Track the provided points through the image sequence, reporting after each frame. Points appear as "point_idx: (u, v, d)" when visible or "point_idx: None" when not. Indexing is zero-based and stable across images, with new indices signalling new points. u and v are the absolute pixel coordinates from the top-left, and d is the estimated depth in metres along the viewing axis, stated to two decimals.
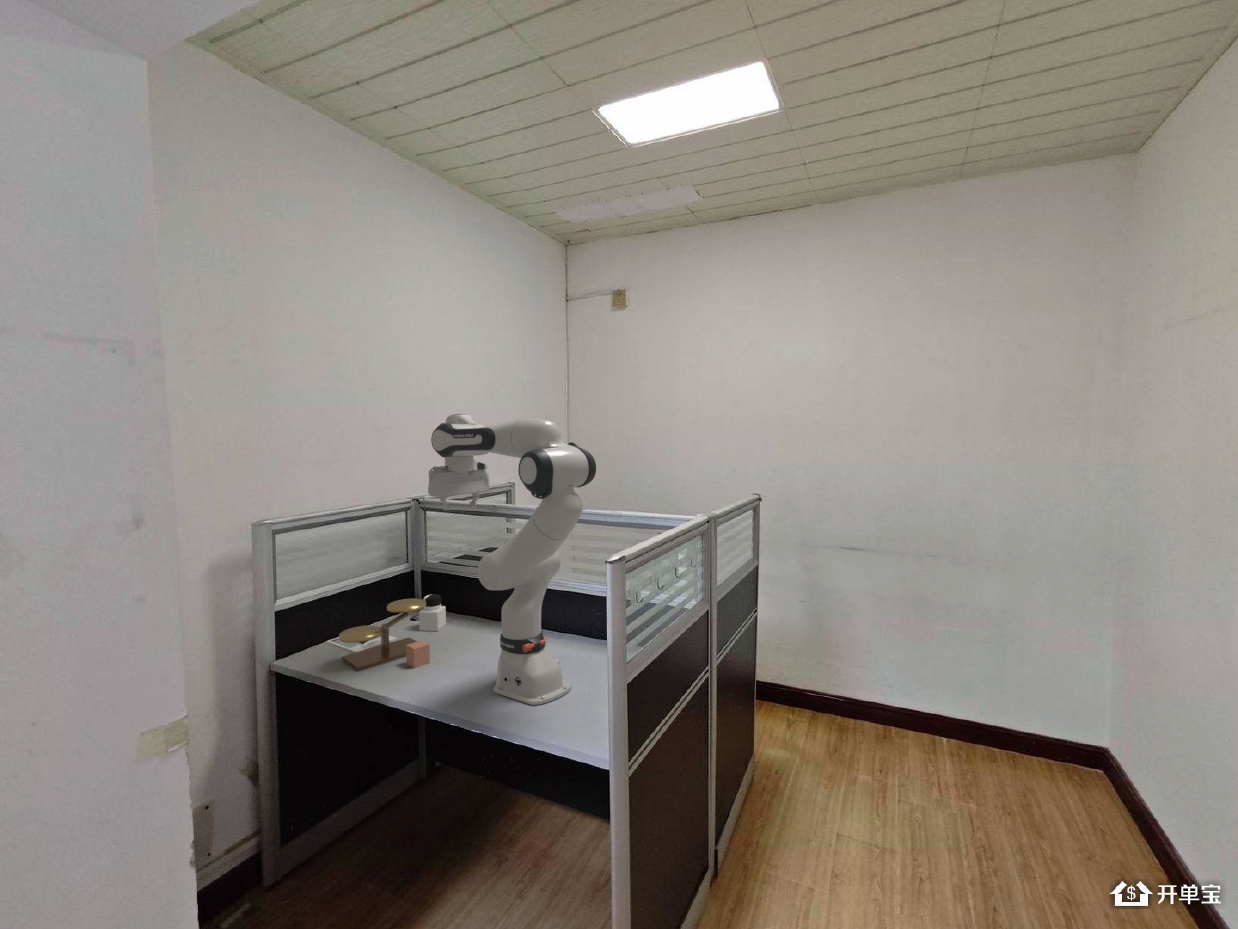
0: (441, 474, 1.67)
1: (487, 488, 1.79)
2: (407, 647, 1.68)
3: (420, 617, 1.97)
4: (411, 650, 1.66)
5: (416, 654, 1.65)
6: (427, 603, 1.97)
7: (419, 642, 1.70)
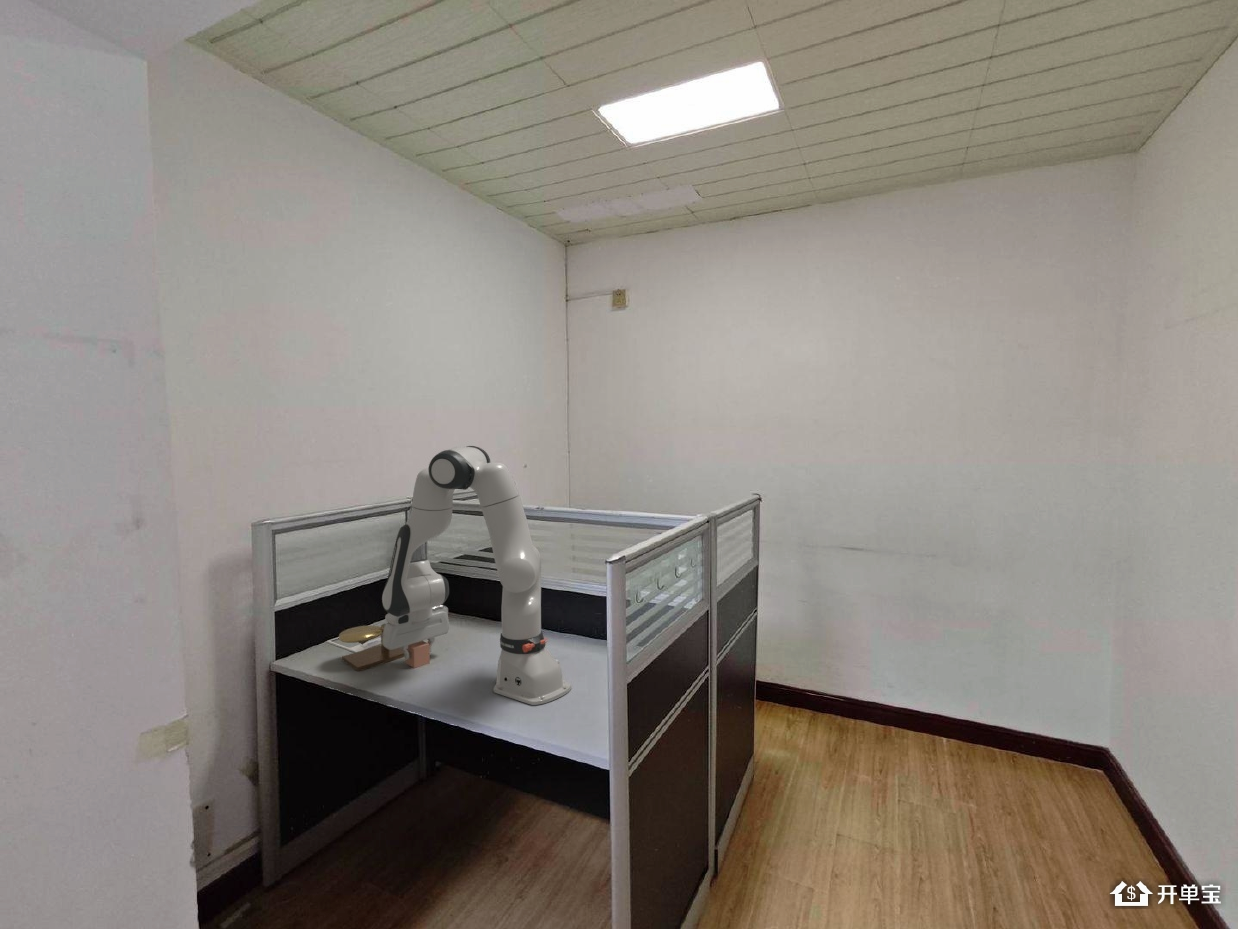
0: None
1: None
2: None
3: None
4: (411, 650, 1.66)
5: (416, 654, 1.65)
6: None
7: (419, 642, 1.70)
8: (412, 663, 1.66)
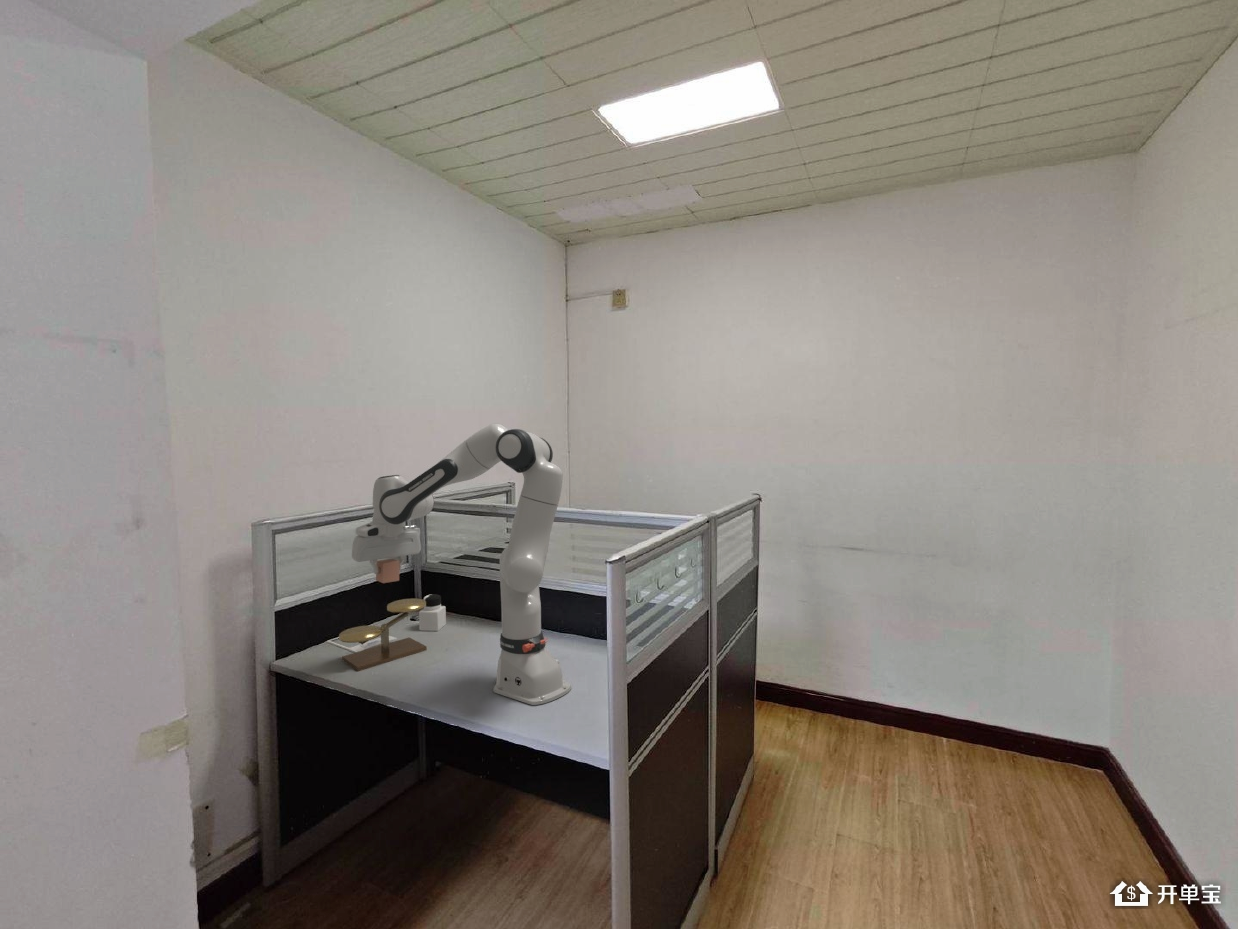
0: None
1: None
2: (377, 563, 1.67)
3: (420, 617, 1.97)
4: (380, 565, 1.66)
5: (385, 569, 1.65)
6: (427, 603, 1.97)
7: (389, 559, 1.70)
8: (381, 578, 1.66)
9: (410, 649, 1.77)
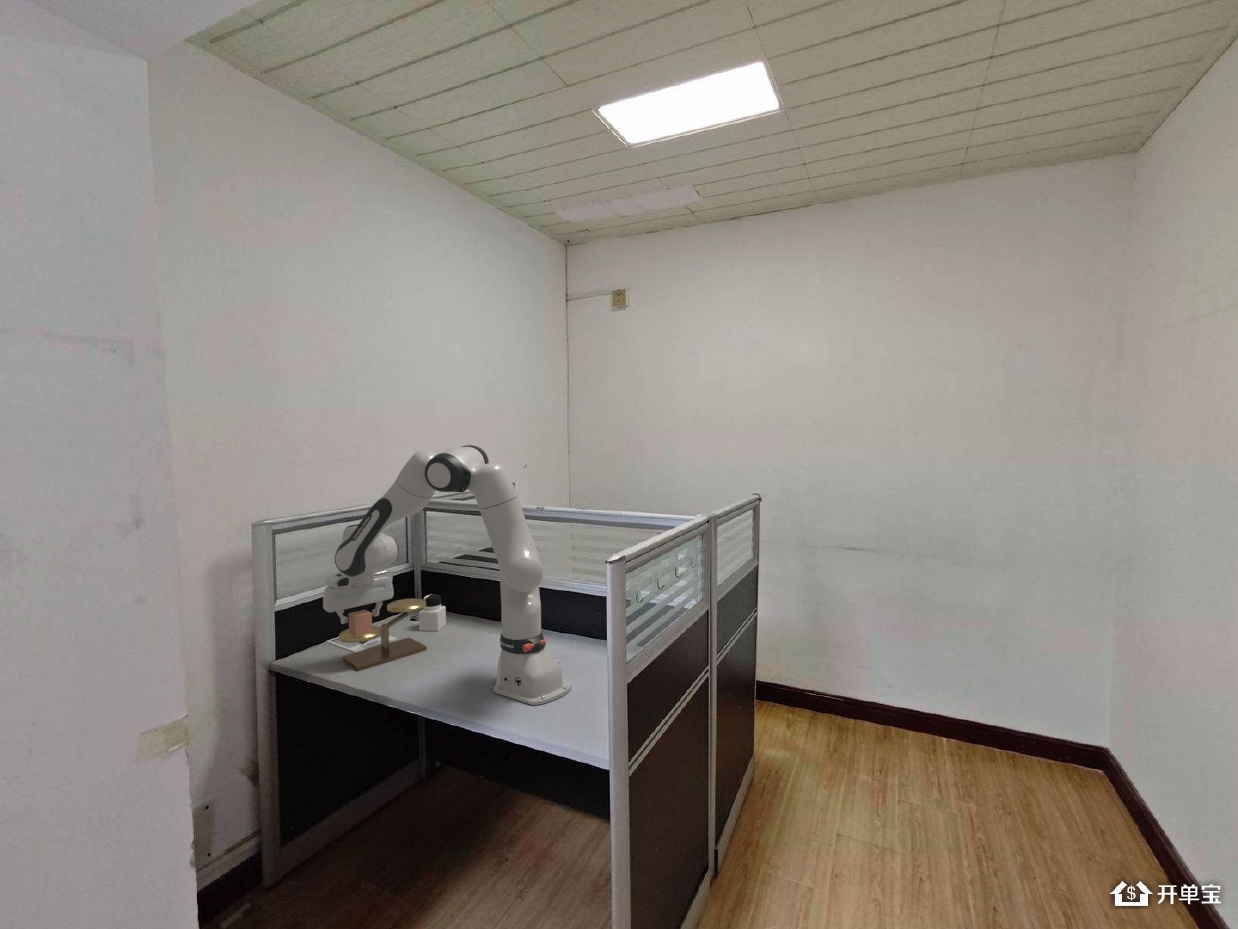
0: None
1: None
2: (349, 615, 1.68)
3: (420, 617, 1.97)
4: (352, 618, 1.67)
5: (357, 622, 1.66)
6: (427, 603, 1.97)
7: (362, 611, 1.71)
8: (354, 631, 1.66)
9: (410, 649, 1.77)
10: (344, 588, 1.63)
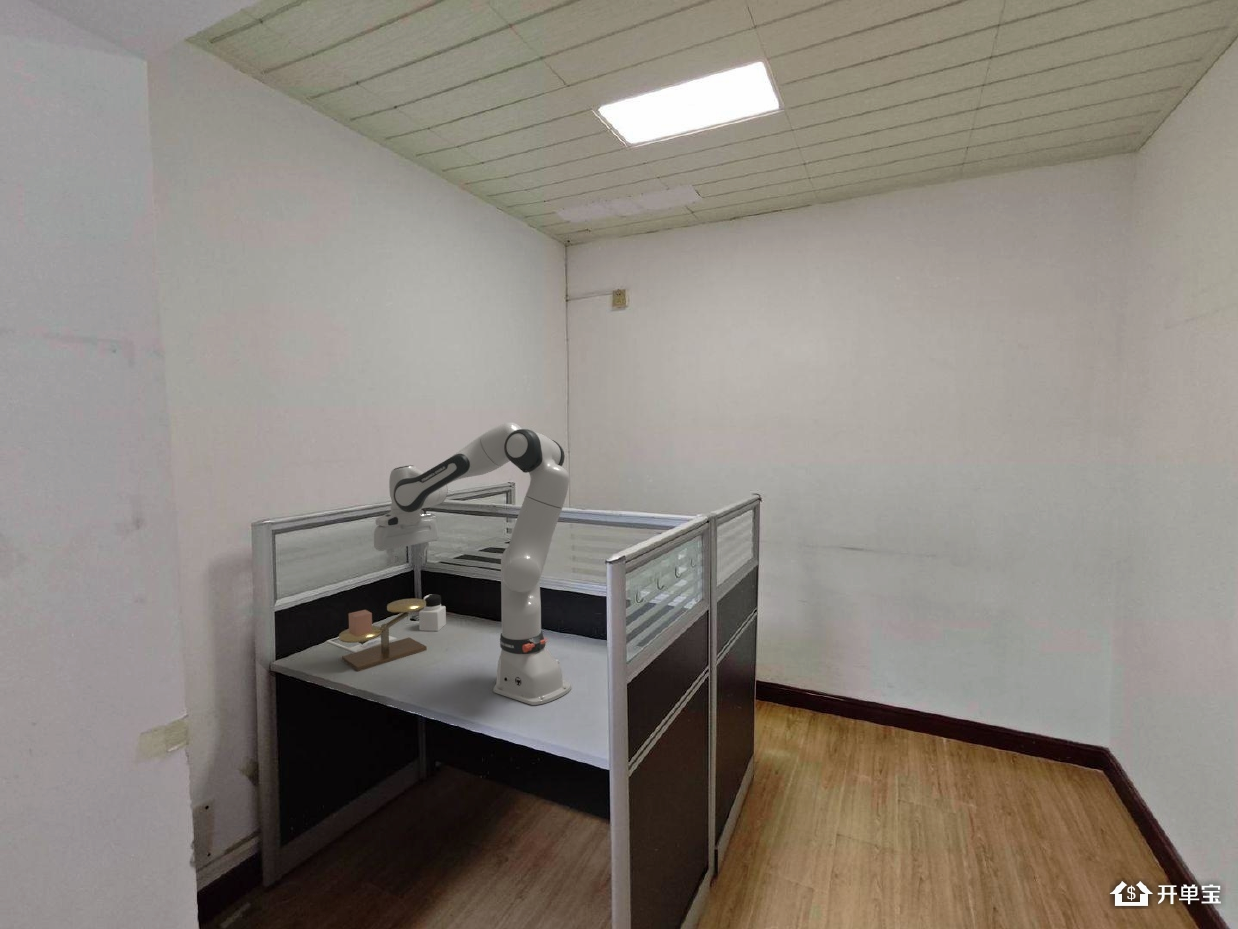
0: None
1: None
2: (349, 615, 1.68)
3: (420, 617, 1.97)
4: (352, 618, 1.67)
5: (357, 622, 1.66)
6: (427, 603, 1.97)
7: (362, 611, 1.71)
8: (354, 631, 1.66)
9: (410, 649, 1.77)
10: (394, 527, 1.68)
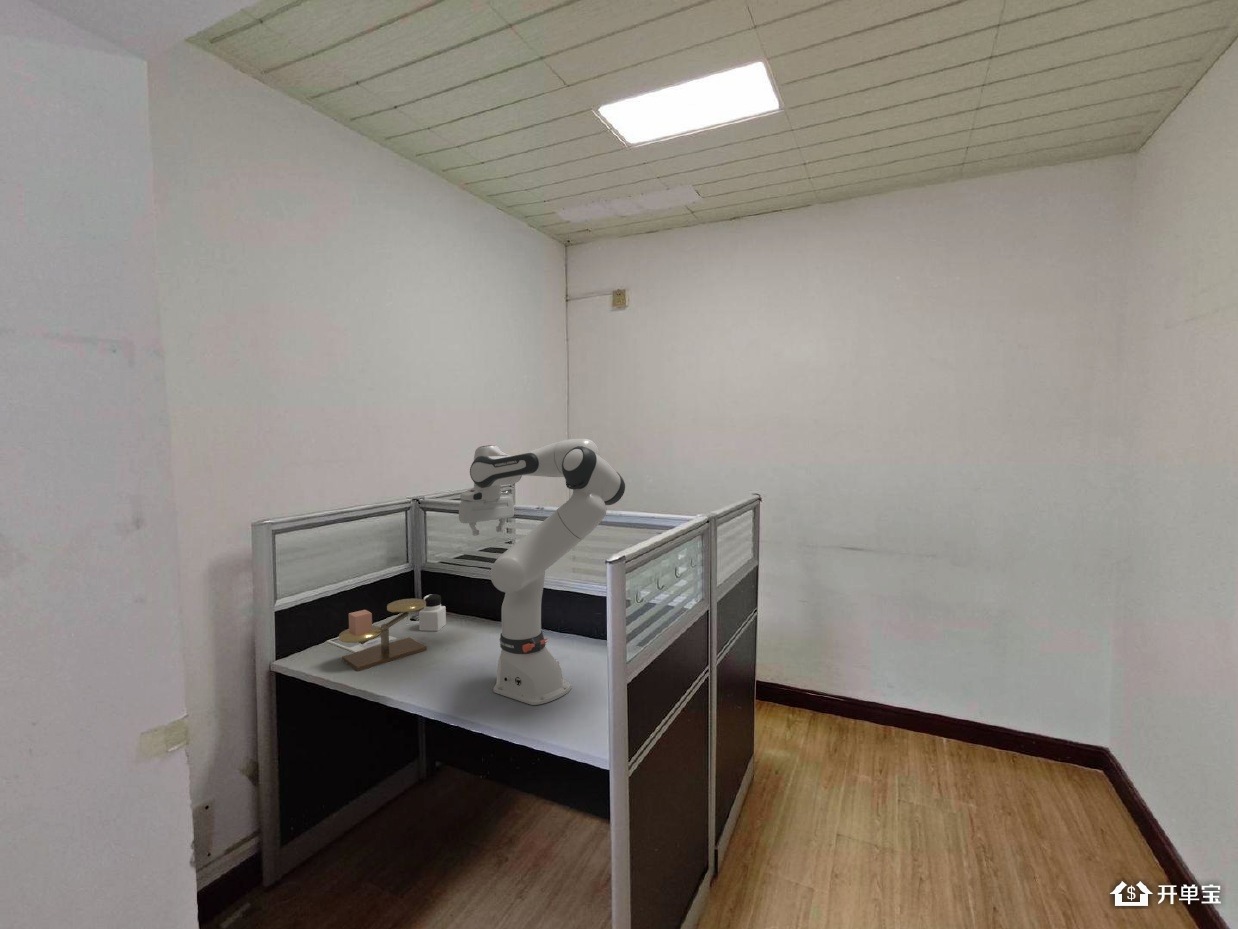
0: None
1: None
2: (349, 615, 1.68)
3: (420, 617, 1.97)
4: (352, 618, 1.67)
5: (357, 622, 1.66)
6: (427, 603, 1.97)
7: (362, 611, 1.71)
8: (354, 631, 1.66)
9: (410, 649, 1.77)
10: (478, 502, 1.79)
